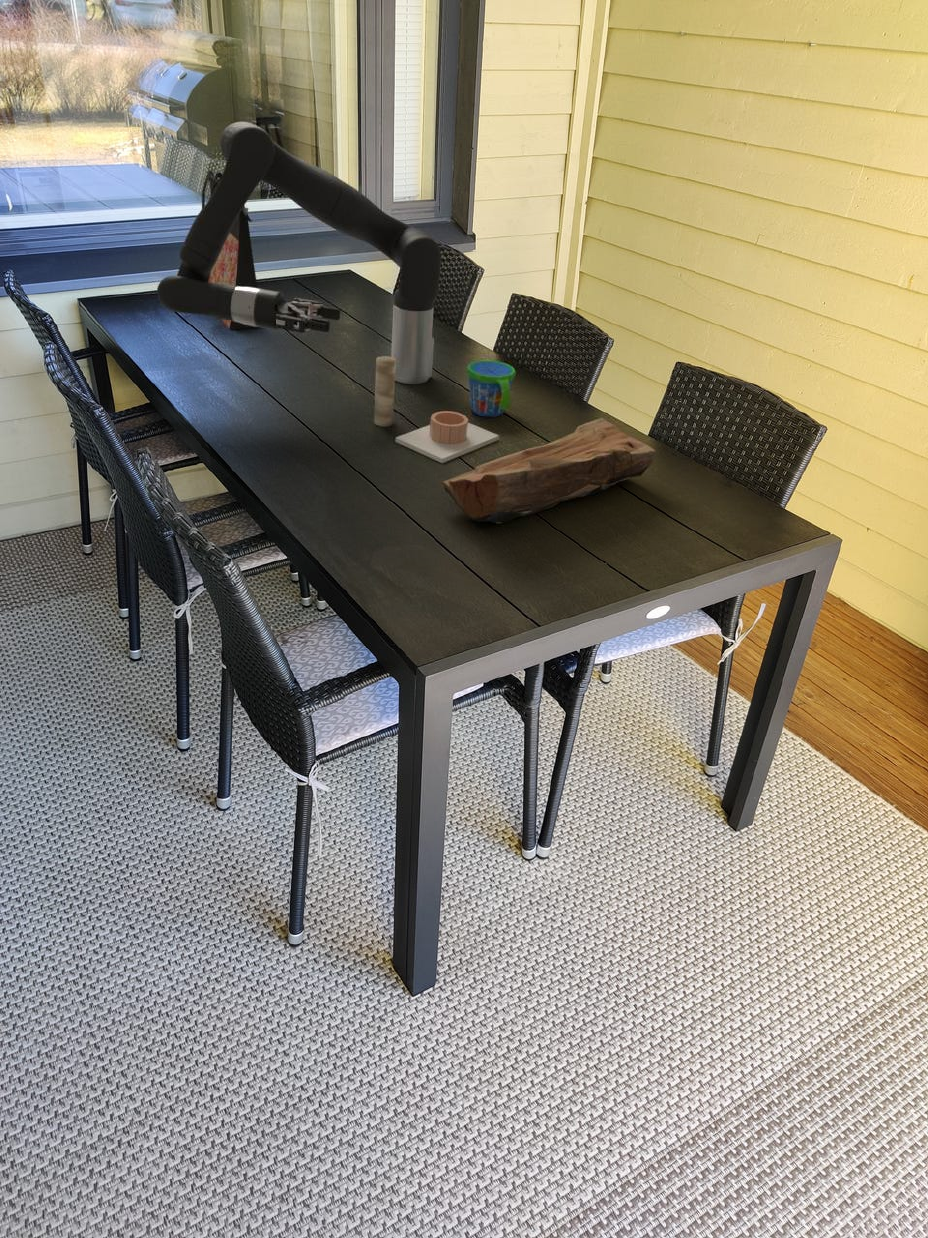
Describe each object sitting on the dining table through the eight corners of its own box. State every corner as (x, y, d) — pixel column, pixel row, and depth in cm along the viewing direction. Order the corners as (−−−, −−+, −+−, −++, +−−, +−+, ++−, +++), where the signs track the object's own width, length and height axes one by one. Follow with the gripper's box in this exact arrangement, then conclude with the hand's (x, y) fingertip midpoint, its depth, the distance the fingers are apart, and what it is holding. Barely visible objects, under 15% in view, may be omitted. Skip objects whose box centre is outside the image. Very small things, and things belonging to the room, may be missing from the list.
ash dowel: (383, 417, 213) (385, 354, 205) (396, 423, 211) (399, 360, 203) (370, 422, 210) (372, 358, 203) (383, 428, 208) (386, 364, 201)
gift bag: (192, 299, 269) (182, 161, 249) (243, 296, 275) (237, 161, 255) (222, 334, 248) (214, 186, 228) (276, 330, 254) (273, 185, 234)
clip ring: (446, 426, 210) (448, 408, 207) (473, 437, 206) (475, 419, 204) (422, 435, 205) (423, 417, 202) (449, 447, 201) (451, 429, 199)
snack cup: (453, 399, 225) (457, 356, 219) (495, 397, 228) (500, 354, 223) (477, 427, 213) (481, 382, 207) (521, 424, 217) (527, 379, 211)
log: (481, 539, 171) (505, 462, 163) (424, 491, 181) (444, 416, 174) (639, 519, 198) (666, 451, 190) (581, 478, 208) (605, 412, 200)
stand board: (452, 420, 215) (453, 416, 214) (498, 439, 208) (499, 435, 208) (395, 441, 203) (395, 437, 203) (442, 463, 197) (442, 458, 196)
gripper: (246, 298, 193) (327, 311, 192) (268, 280, 205) (344, 292, 204) (246, 335, 197) (325, 349, 196) (268, 316, 209) (342, 328, 208)
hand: (335, 320), depth 200 cm, fingers open, 8 cm apart
